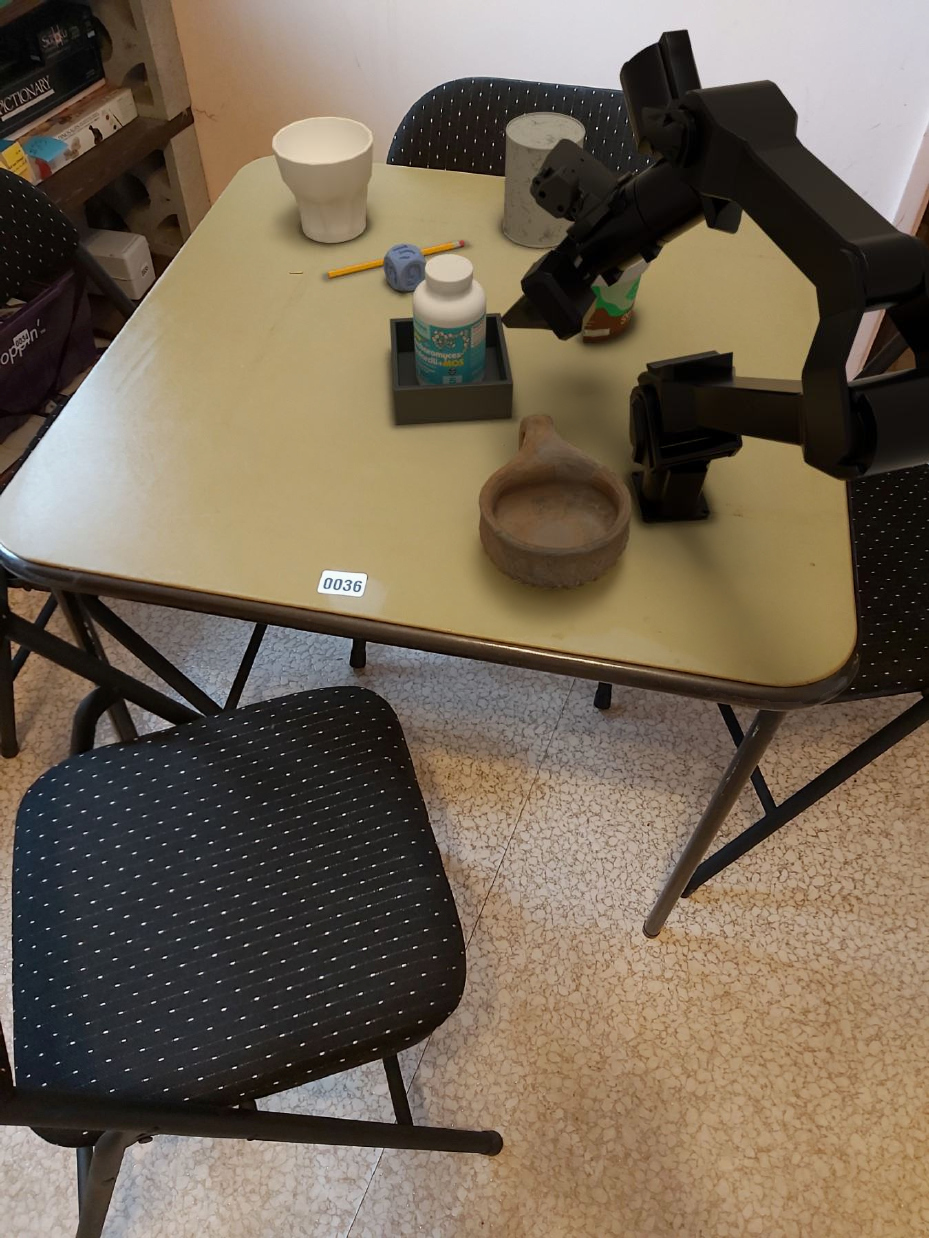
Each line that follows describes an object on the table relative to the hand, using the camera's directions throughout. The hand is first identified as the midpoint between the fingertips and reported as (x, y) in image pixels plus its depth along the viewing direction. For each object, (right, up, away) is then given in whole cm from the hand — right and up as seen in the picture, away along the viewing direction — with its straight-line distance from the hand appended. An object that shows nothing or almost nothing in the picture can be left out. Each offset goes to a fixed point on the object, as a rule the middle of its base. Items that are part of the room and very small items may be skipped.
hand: (523, 296), depth 79 cm
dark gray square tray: (-7, -5, +12) cm, 15 cm away
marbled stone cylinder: (+4, +21, +31) cm, 38 cm away
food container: (+12, +4, +19) cm, 23 cm away
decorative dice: (-13, +11, +24) cm, 29 cm away
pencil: (-14, +15, +27) cm, 34 cm away
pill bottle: (-7, -5, +12) cm, 15 cm away
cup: (-23, +21, +32) cm, 45 cm away
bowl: (+2, -23, -1) cm, 23 cm away
